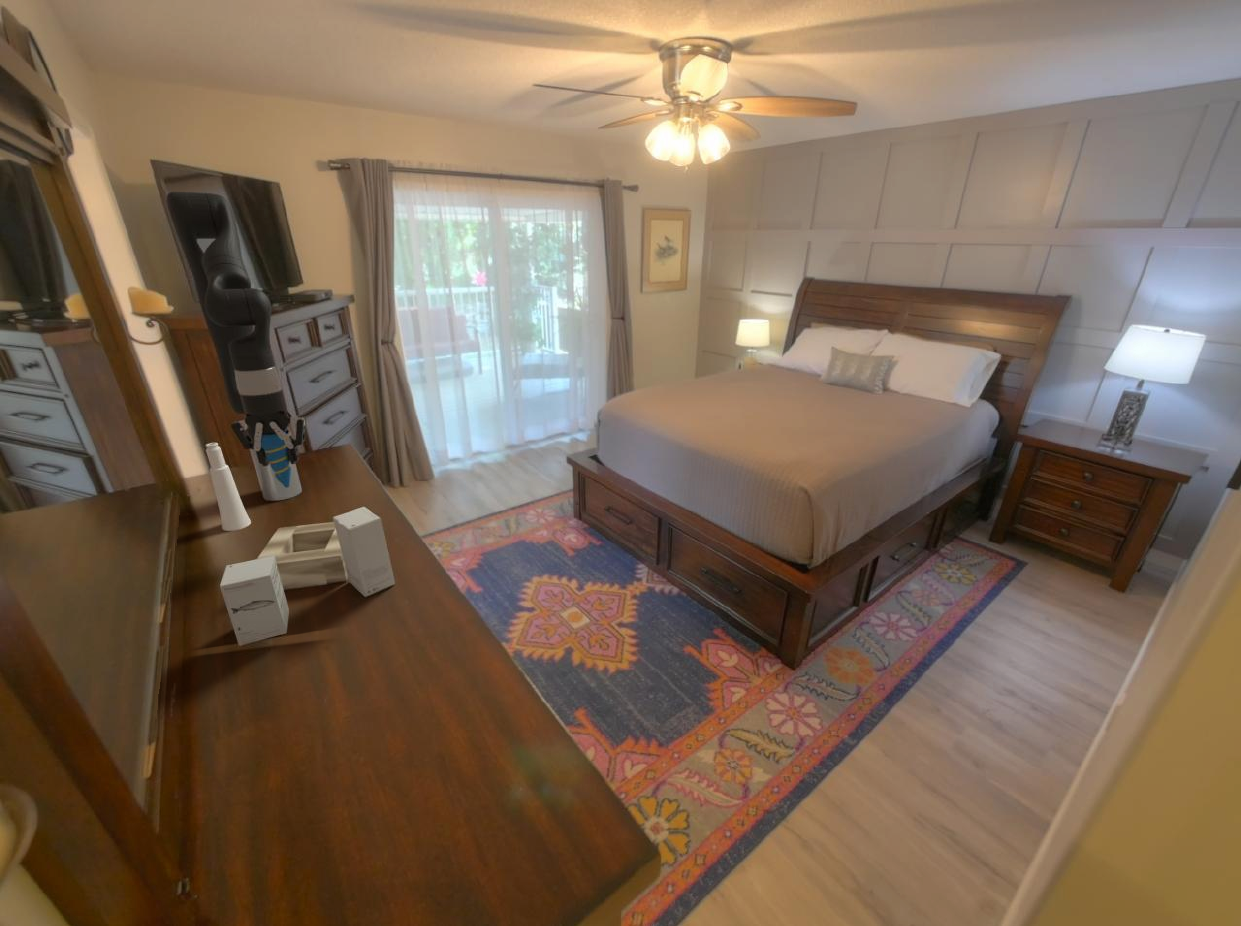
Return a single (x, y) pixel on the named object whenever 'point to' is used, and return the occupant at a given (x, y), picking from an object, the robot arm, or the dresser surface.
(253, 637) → the supplement box
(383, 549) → the skincare box
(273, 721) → the dresser surface
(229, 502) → the cosmetic bottle
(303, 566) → the socket block
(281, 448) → the ornament
